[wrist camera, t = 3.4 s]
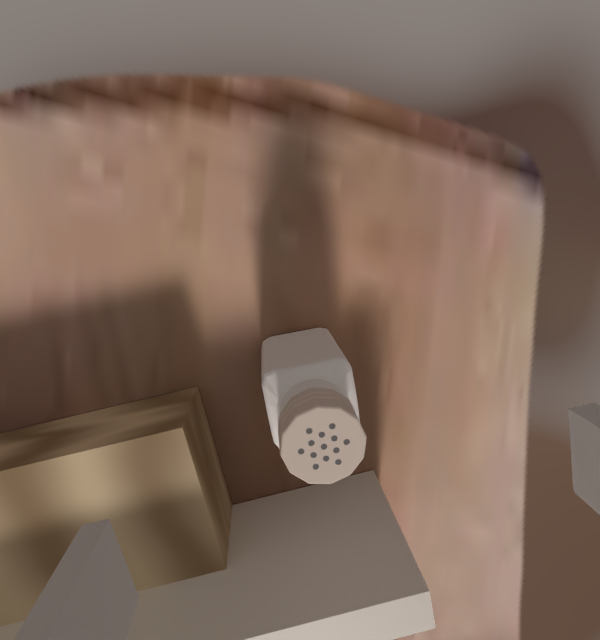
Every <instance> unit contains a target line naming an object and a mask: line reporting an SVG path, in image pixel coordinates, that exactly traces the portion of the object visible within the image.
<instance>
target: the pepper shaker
mask: <svg viewBox="0 0 600 640" xmlns="http://www.w3.org/2000/svg"><path fill="white" fill-rule="evenodd" d="M261 380H262V389H263V395H264V400H265V405H266V410H267V415H268V420H269V424H270V429H271V433H272V438H273V442H274V443H275V444H276V445H277V446H278V448H279V449H280V455H281V457H282V459H283V461H284V463H285V465H286V467H287V468H288V470H289V472H290V473H291V474H293V475H295V476H296V477H298V478H300V479H301V480H303V481H305V482H307V483H308V484H332V483H334V482H336V481H338V480H341V479H343V478H345V477H347V476H349V475H351V474H352V472H353V471H354V470H355V469H356V467H357V466H358V465H359V463H360V462H361V461H362V459H363V458H364V454H365V446H366V439H367V436H366V434H365V432H364V430H363V427H362V425H361V423H360V418H359V409H358V401H357V395H356V389H355V383H354V377H353V372H352V367H351V365H350V364H349V362H348V360H347V359H346V357H345V356H344V354H343V353H342V351H341V349H340V348H339V346H338V345H337V343H336V341H335V340H334V338H333V337H332V335H331V334H330V332H329V330H328V329H325V328H320V327H319V328H314V329H308V330H303V331H298V332H293V333H287V334H282V335H277V336H272V337H269V338H267V339H266V340H264V341H263V343H262V348H261Z"/></svg>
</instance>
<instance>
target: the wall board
mask: <svg viewBox="0 0 600 640" xmlns="http://www.w3.org/2000/svg"><path fill="white" fill-rule="evenodd" d="M137 593H138V595H139V598H140V599H139V602H138V605H137V608H136V611H135V614H134V617H133V620H132V623H131V626H130V629H129V632H128V635H127V638H126V640H393V639H397V638H401V637H404V636H408V635H412V634H416V633H419V632H423V631H427V630H431V629H434V628H436V626H435V621H434V615H433V609H432V603H431V597H430V592H429V589H428V587H427V585H426V583H425V580H424V578H423V576H422V574H421V572H420V570H419V567H418V565H417V563H416V561H415V559H414V557H413V554H412V552H411V550H410V548H409V546H408V544H407V541H406V539H405V537H404V535H403V533H402V531H401V528H400V526H399V524H398V522H397V520H396V517H395V515H394V513H393V511H392V509H391V507H390V504H389V502H388V500H387V498H386V496H385V494H384V491H383V489H382V487H381V485H380V483H379V481H378V478H377V476H376V474H375V472H374V470H371V471H367V472H363V473H359V474H355V475H351V476H347V477H345V478H343V479H341V480H338V481H336V482H334V483H332V484H315V485H311V486H307V487H303V488H299V489H295V490H291V491H287V492H283V493H279V494H275V495H271V496H267V497H263V498H259V499H255V500H251V501H247V502H242V503H238V504H234V505H232V514H231V525H230V535H229V546H228V556H227V566H226V569H225V570H221V571H217V572H213V573H209V574H205V575H202V576H198V577H194V578H190V579H186V580H182V581H178V582H174V583H170V584H166V585H162V586H158V587H154V588H150V589H146V590H143V591H139V592H137ZM23 623H24V621H21V622H17V623H13V624H9V625H5V626H1V627H0V640H14V638H15V636H16V635H17V633H18V631H19V630H20V628H21V626H22V625H23Z"/></svg>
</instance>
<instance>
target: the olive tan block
mask: <svg viewBox="0 0 600 640" xmlns="http://www.w3.org/2000/svg"><path fill="white" fill-rule="evenodd" d="M231 514H232V502H231V499H230V495H229V492H228V488H227V485H226V481H225V478H224V475H223V471H222V468H221V464H220V461H219V458H218V454H217V451H216V447H215V444H214V440H213V437H212V434H211V430H210V427H209V423H208V420H207V417H206V413H205V410H204V406H203V403H202V400H201V396H200V393H199V389H198V387H194V388H190V389H186V390H181V391H177V392H173V393H169V394H164V395H160V396H156V397H152V398H147V399H143V400H139V401H135V402H131V403H126V404H122V405H118V406H114V407H109V408H105V409H101V410H97V411H92V412H88V413H84V414H80V415H75V416H71V417H67V418H63V419H58V420H54V421H50V422H46V423H42V424H37V425H33V426H29V427H25V428H20V429H16V430H12V431H8V432H3V433H0V627H1V626H5V625H9V624H13V623H17V622H21V621H25V620H26V618H27V616H28V614H29V613H30V611H31V609H32V608H33V606H34V604H35V603H36V601H37V599H38V598H39V596H40V594H41V593H42V591H43V589H44V588H45V586H46V584H47V583H48V581H49V579H50V578H51V576H52V574H53V572H54V571H55V569H56V567H57V566H58V564H59V562H60V561H61V559H62V557H63V556H64V554H65V552H66V551H67V549H68V547H69V546H70V544H71V542H72V541H73V539H74V537H75V535H76V534H77V532H78V530H79V529H80V527H81V525H85V524H89V523H93V522H97V521H102V520H106V519H110V522H111V524H112V527H113V530H114V532H115V535H116V538H117V540H118V543H119V545H120V548H121V551H122V553H123V556H124V559H125V561H126V564H127V566H128V569H129V572H130V574H131V577H132V579H133V582H134V585H135V587H136V590H137V592H139V591H143V590H146V589H150V588H154V587H158V586H162V585H166V584H170V583H174V582H178V581H182V580H186V579H190V578H194V577H198V576H202V575H205V574H209V573H213V572H217V571H221V570H225V569H226V566H227V556H228V546H229V535H230V525H231Z"/></svg>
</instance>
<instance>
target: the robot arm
mask: <svg viewBox="0 0 600 640" xmlns="http://www.w3.org/2000/svg"><path fill="white" fill-rule="evenodd" d="M568 410H569V427H570V442H571V459H572V475H573V490H574V493H576V494H577V495H578V496H579V497H580V498H581V499H583V500H584V501H585V502H586V503H587V504H588V505H589V506H590V507H592V508H593V509H594V510H595V511H596V512H597V513H598V514H599V515H600V406H599V405H598V404H596V403H590V404H586V405H582V406H578V407H574V408H569V409H568ZM139 599H140V598H139V595H138V593H137V590H136V587H135V585H134V582H133V579H132V577H131V574H130V572H129V569H128V566H127V564H126V561H125V559H124V556H123V553H122V551H121V548H120V545H119V543H118V540H117V538H116V535H115V532H114V530H113V527H112V524H111V522H110V519H106V520H102V521H97V522H93V523H89V524H85V525H81V527H80V529H79V530H78V532H77V534H76V535H75V537H74V539H73V541H72V542H71V544H70V546H69V547H68V549H67V551H66V552H65V554H64V556H63V557H62V559H61V561H60V562H59V564H58V566H57V567H56V569H55V571H54V572H53V574H52V576H51V578H50V579H49V581H48V583H47V584H46V586H45V588H44V589H43V591H42V593H41V594H40V596H39V598H38V599H37V601H36V603H35V604H34V606H33V608H32V609H31V611H30V613H29V614H28V616H27V618H26V620H25V621H24V623H23V625H22V626H21V628H20V630H19V631H18V633H17V635H16V636H15V638H14V640H126V638H127V635H128V632H129V629H130V626H131V623H132V620H133V617H134V614H135V611H136V608H137V605H138V602H139Z"/></svg>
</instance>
